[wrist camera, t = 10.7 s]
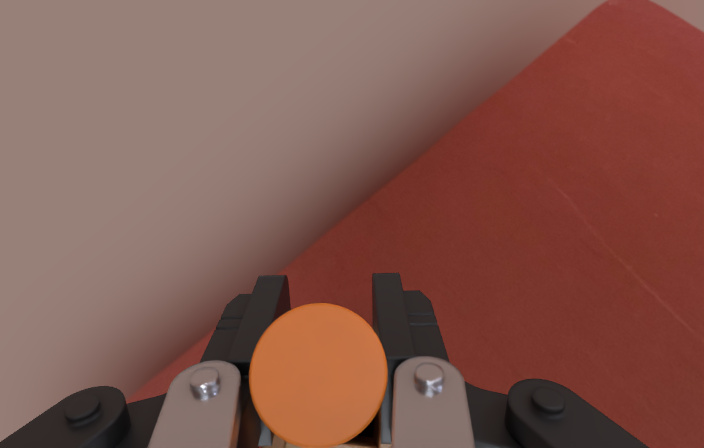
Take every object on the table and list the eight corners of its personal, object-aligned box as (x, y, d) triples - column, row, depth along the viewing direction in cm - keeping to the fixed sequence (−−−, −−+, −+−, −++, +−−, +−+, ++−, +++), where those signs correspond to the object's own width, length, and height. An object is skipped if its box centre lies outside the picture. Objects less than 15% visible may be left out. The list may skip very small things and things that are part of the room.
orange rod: (316, 420, 22) (234, 439, 7) (324, 370, 23) (263, 294, 8) (365, 427, 22) (381, 458, 7) (370, 375, 23) (393, 310, 8)
